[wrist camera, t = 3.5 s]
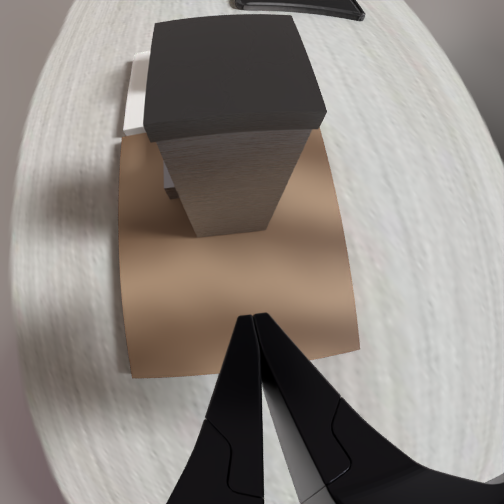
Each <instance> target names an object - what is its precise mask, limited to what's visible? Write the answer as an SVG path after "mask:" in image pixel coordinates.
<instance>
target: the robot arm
mask: <svg viewBox="0 0 504 504" xmlns="http://www.w3.org/2000/svg"><path fill="white" fill-rule="evenodd" d="M262 387H263V391H264V394H265V397H266V401H267V404H268V407H269V410H270V413H271V417H272V420H273V423H274V426H275V429H276V432H277V435H278V439H279V442H280V445H281V448H282V451H283V454H284V457H285V460H286V463H287V466H288V469H289V472H290V475H291V478H292V481H293V484H294V487H295V490H296V493H297V496H298V499H299V502H300V504H504V473H503V474H501V475H500V476H498V477H496V478H494V479H492V480H490V481H488V482H486V483H482V482H477V481H473V480H469V479H465V478H461V477H457V476H453V475H449V474H446V473H442V472H439V471H436V470H432V469H429V468H427V467H425V466H423V465H421V464H419V463H417V462H416V461H414V460H413V459H411V458H410V457H408V456H407V455H406V454H405V453H403V452H402V451H401V450H400V449H398V448H397V447H396V446H395V445H393V444H392V443H391V442H390V441H388V440H387V439H386V438H385V437H383V436H382V435H381V434H380V433H378V432H377V431H376V430H375V429H374V428H373V427H372V426H370V425H369V424H368V423H367V422H366V421H365V420H364V419H363V418H362V417H361V416H360V415H359V414H358V413H357V412H356V411H355V410H354V409H353V408H352V407H351V406H350V405H349V404H348V403H347V402H346V401H345V399H344V398H343V397H341V395H340V394H339V393H338V392H337V391H336V390H335V389H334V387H333V386H332V385H331V384H330V383H329V382H328V381H327V380H326V378H325V377H324V376H323V375H322V374H321V373H320V372H319V371H318V370H317V368H316V367H315V366H314V365H313V364H312V363H311V362H310V360H309V359H308V358H307V357H306V356H305V355H304V354H303V353H302V351H301V350H300V349H299V348H298V347H297V346H296V345H295V343H294V342H293V341H292V340H291V339H290V338H289V336H288V335H287V334H286V333H285V332H284V331H283V330H282V328H281V327H280V326H279V325H278V324H277V323H276V321H275V320H274V319H273V318H272V317H271V316H270V314H269V313H267V312H264V313H256V314H254V315H253V316H252V315H251V314H248V315H240V316H238V317H237V320H236V323H235V326H234V329H233V332H232V335H231V339H230V342H229V345H228V348H227V351H226V354H225V357H224V360H223V363H222V366H221V370H220V373H219V376H218V379H217V382H216V385H215V388H214V391H213V394H212V397H211V400H210V403H209V406H208V410H207V413H206V416H205V418H206V419H205V420H204V421H203V424H202V427H201V430H200V433H199V436H198V439H197V441H196V444H195V447H194V449H193V451H192V454H191V456H190V458H189V460H188V462H187V465H186V467H185V469H184V471H183V473H182V474H181V476H180V478H179V480H178V482H177V484H176V486H175V488H174V490H173V492H172V494H171V496H170V497H169V499H168V501H167V503H166V504H264V467H263V421H262ZM340 397H341V398H340Z"/></svg>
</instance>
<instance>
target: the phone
mask: <svg viewBox="0 0 504 504" xmlns="http://www.w3.org/2000/svg"><path fill="white" fill-rule="evenodd" d="M235 3H236V7H237V8H238V9H241V10H248V11H285V12H298V13H309V14H318V15H326V16H333V17H339V18H345V19H351V20H356V21H363V19H364V17H365V13H364V11H363V10H362V8H361V7H360V6H359V4H358V3H357V1H356V0H235Z"/></svg>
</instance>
